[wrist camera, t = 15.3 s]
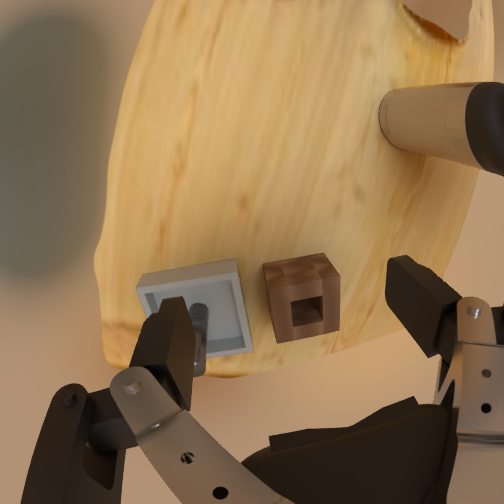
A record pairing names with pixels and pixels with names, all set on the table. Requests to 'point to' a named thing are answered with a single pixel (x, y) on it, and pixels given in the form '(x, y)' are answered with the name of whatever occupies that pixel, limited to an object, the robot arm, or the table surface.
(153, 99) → the table surface
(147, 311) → the tray
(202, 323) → the pin
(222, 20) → the table surface
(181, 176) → the table surface
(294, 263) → the pin block
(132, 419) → the robot arm
